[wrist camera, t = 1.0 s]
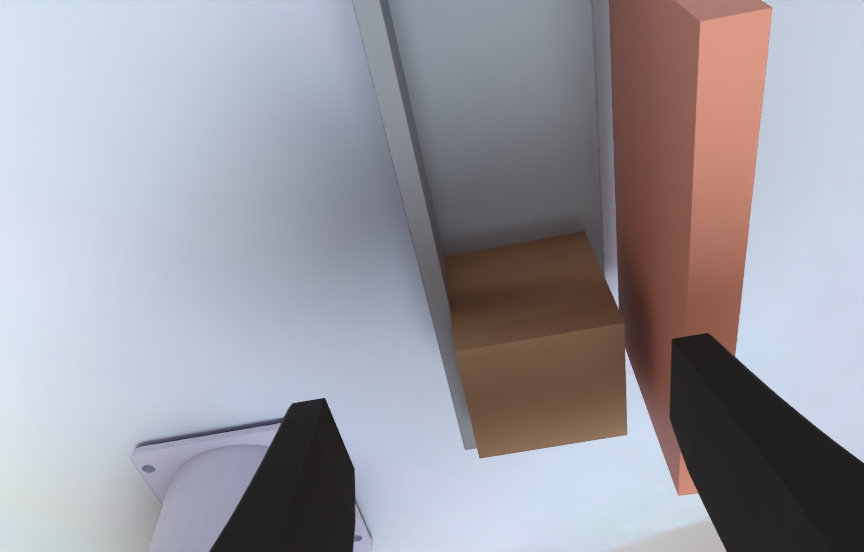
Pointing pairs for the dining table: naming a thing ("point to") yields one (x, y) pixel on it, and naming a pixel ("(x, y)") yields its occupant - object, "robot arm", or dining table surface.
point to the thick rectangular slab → (683, 179)
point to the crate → (537, 345)
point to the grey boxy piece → (485, 131)
